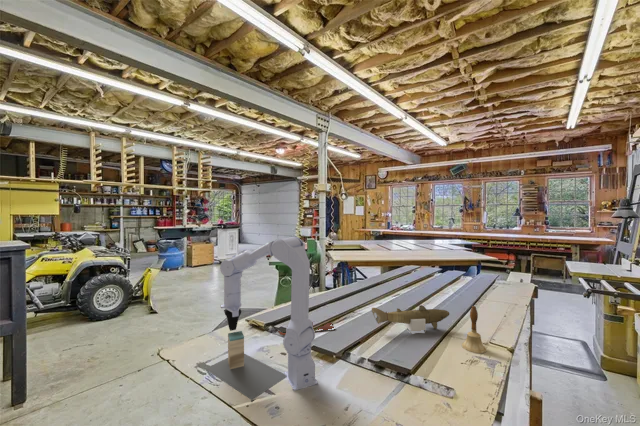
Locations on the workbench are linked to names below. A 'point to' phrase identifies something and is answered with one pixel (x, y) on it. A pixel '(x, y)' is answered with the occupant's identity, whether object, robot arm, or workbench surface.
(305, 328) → the robot arm
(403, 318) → the wood carving
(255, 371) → the rubber mat
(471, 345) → the hand bell
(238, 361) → the beech block
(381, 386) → the workbench surface
